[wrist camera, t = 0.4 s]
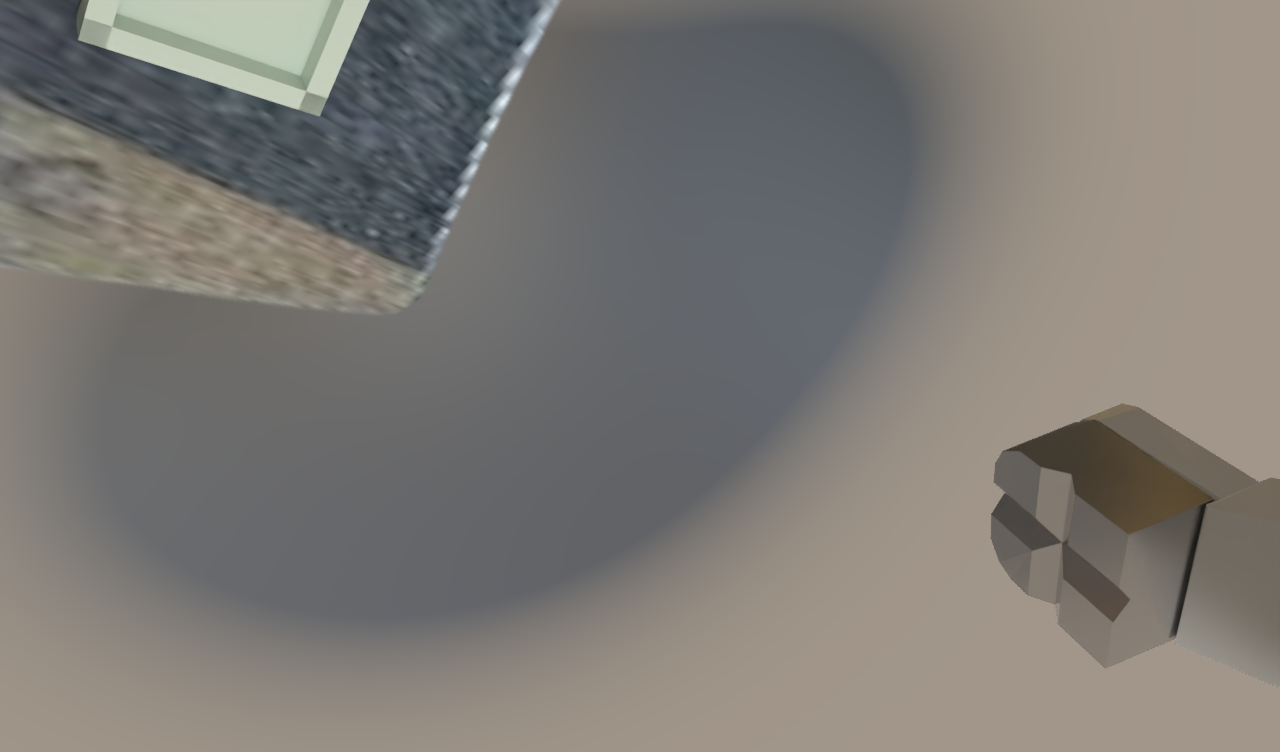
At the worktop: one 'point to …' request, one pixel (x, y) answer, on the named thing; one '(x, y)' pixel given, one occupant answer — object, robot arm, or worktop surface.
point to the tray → (234, 41)
